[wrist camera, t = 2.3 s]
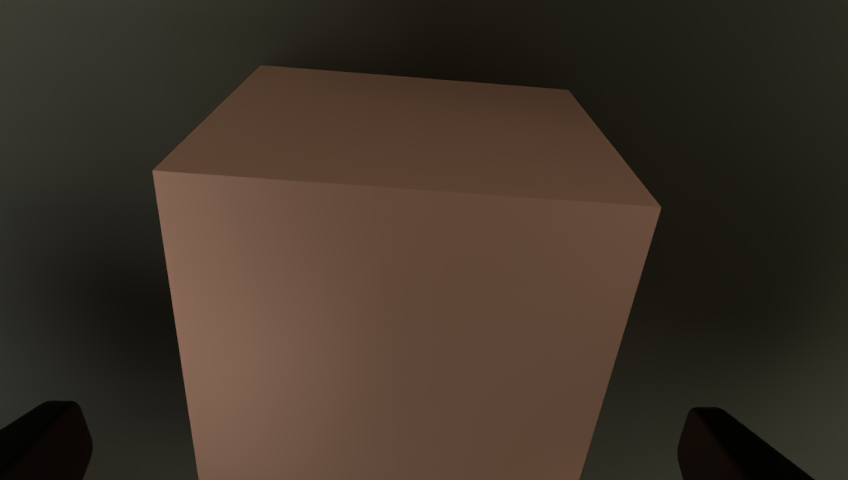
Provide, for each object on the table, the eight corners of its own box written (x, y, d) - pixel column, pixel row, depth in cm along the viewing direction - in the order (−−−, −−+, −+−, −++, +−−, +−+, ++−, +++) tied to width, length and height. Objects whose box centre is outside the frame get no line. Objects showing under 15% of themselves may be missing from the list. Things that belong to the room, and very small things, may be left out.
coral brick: (503, 409, 15) (537, 619, 10) (279, 396, 15) (217, 606, 10) (565, 87, 11) (661, 207, 7) (262, 63, 11) (152, 171, 6)
